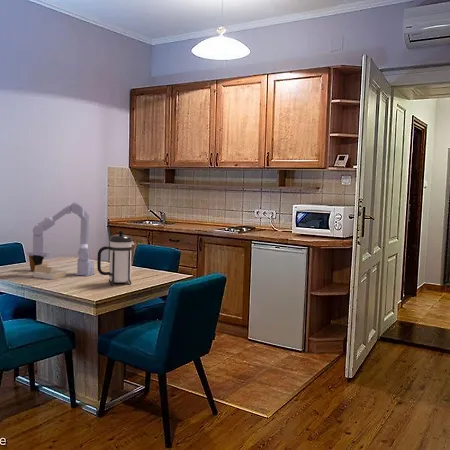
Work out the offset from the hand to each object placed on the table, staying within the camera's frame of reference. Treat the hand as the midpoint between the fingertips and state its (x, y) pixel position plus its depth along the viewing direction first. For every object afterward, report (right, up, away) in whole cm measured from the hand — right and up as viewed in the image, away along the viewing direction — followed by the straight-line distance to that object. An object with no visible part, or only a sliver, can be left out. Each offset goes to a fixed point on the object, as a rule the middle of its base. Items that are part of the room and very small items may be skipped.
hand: (37, 268), depth 288 cm
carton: (+8, -5, -2) cm, 10 cm away
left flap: (+6, 0, -7) cm, 10 cm away
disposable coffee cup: (-7, -3, +15) cm, 17 cm away
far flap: (+2, +1, -1) cm, 2 cm away
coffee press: (+50, -8, -14) cm, 53 cm away
